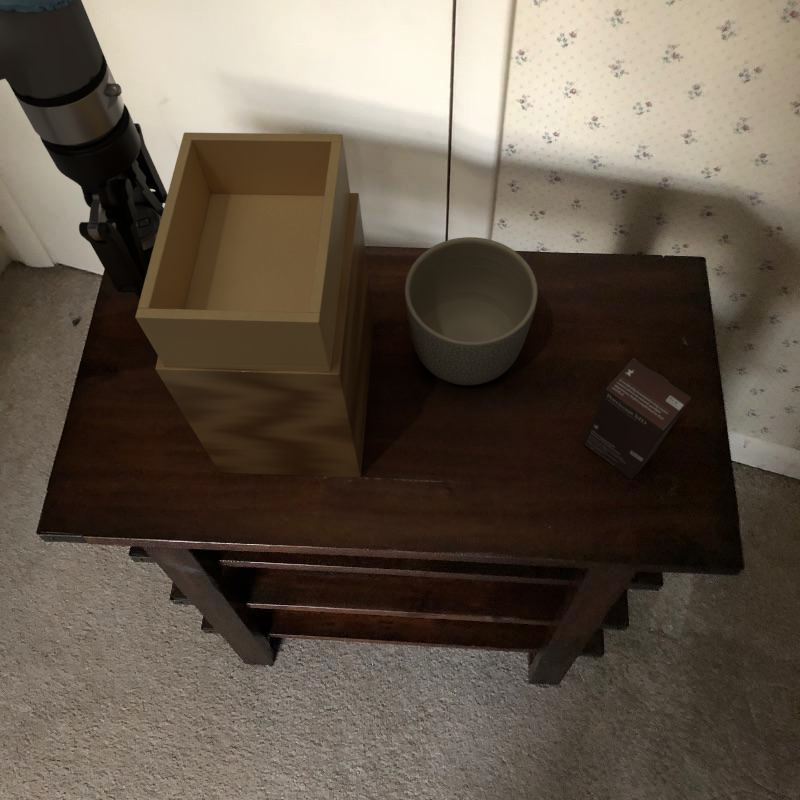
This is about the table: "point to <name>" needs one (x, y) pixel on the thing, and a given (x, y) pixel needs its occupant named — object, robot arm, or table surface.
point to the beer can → (147, 228)
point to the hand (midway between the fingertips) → (166, 286)
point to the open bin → (249, 253)
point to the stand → (291, 394)
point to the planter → (469, 308)
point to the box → (634, 418)
